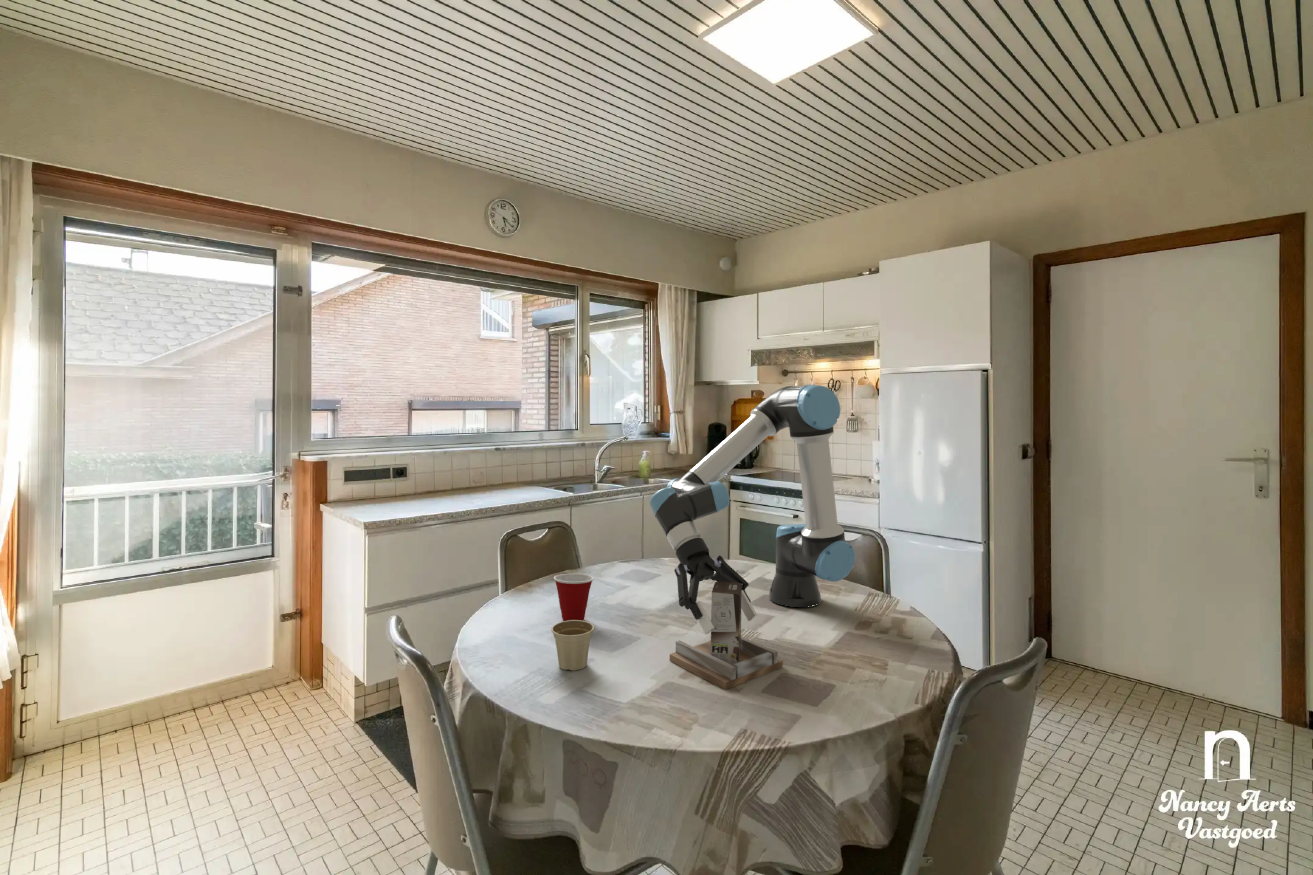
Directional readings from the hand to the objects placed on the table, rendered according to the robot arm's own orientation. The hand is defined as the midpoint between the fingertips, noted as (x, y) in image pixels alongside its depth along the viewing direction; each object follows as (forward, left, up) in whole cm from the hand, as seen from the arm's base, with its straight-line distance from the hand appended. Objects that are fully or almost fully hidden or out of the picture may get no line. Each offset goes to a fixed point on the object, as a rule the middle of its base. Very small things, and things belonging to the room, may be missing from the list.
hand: (732, 624), depth 136 cm
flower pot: (+28, -22, -10) cm, 37 cm away
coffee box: (0, -2, -8) cm, 9 cm away
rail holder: (0, -2, -10) cm, 10 cm away
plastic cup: (+13, -47, -10) cm, 50 cm away
